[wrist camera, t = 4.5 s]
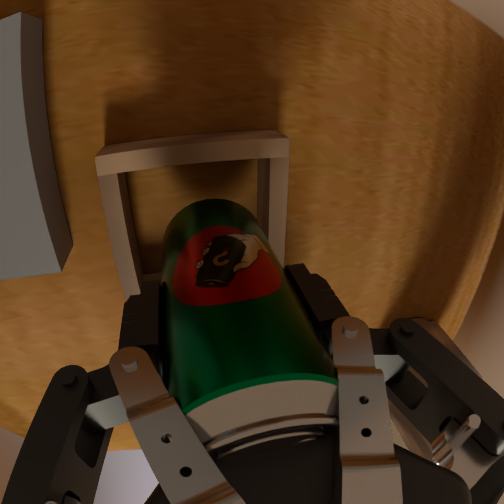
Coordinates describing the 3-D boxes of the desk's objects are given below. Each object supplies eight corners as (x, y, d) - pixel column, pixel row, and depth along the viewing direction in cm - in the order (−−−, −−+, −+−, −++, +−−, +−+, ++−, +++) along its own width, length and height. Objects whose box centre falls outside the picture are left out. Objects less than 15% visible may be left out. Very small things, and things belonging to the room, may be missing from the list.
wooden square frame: (275, 129, 18) (289, 138, 16) (270, 270, 23) (281, 292, 21) (104, 145, 16) (94, 156, 14) (131, 288, 21) (129, 312, 19)
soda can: (143, 242, 16) (127, 477, 6) (215, 173, 15) (302, 385, 5) (210, 295, 19) (257, 502, 8) (277, 238, 18) (390, 434, 8)
